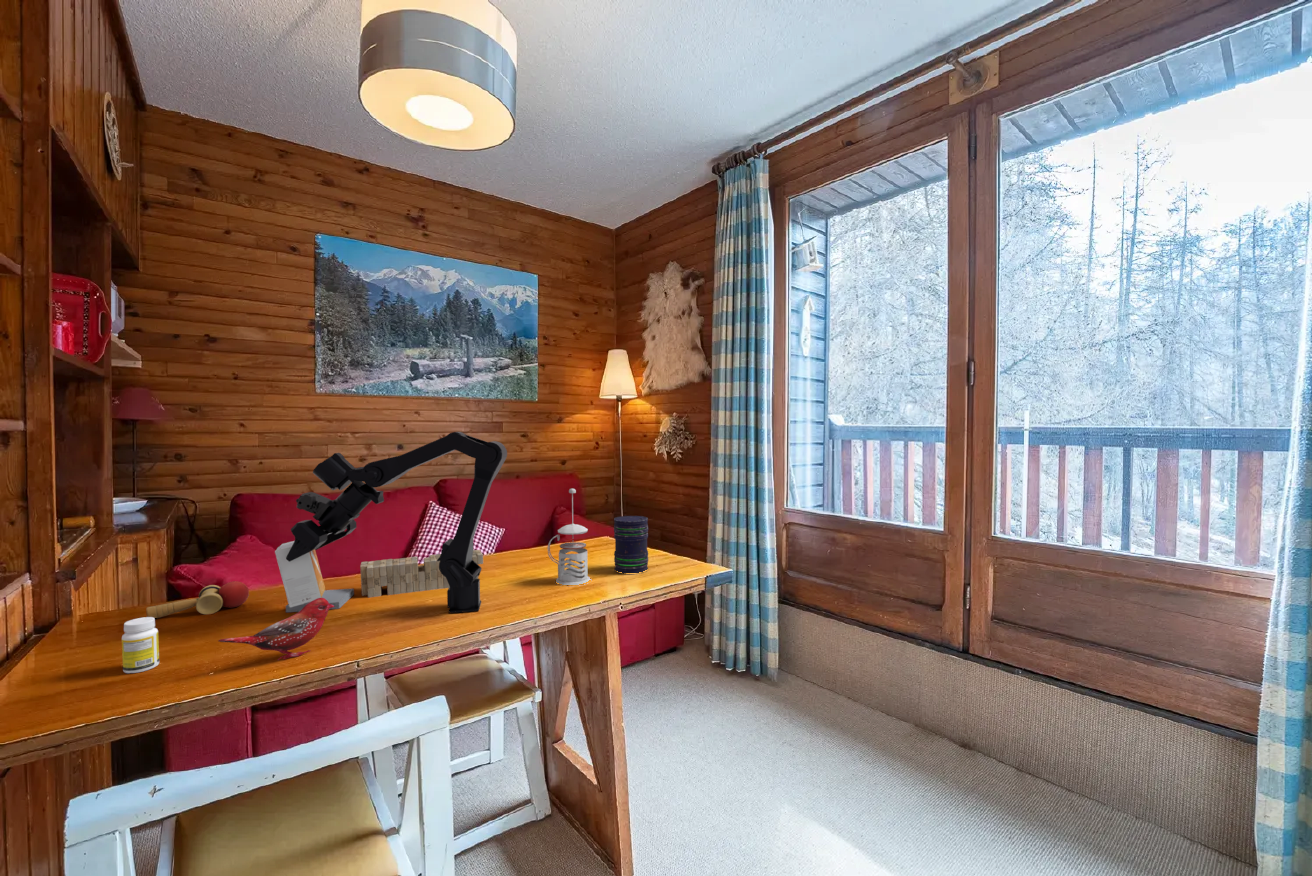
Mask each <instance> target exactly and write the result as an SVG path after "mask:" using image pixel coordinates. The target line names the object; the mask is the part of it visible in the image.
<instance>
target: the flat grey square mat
mask: <svg viewBox="0 0 1312 876" xmlns="http://www.w3.org/2000/svg"><path fill="white" fill-rule="evenodd" d="M354 595H355V588H342V589H341V588H340V589H325V591H324V593H323V595H322V598H325V599H326V600H327V601H328V603H329V604H331V605H333V606H334V607H332V608H330V609H329V610H338V609H339V610H340V608H342V607H343V606H344V605H345V604H346V603H347V602H348V601H349V600H350V599H351V598H352V597H353V596H354ZM311 602H312V601H311ZM308 603H310V602H308ZM308 603H304V604H301V605H298V606H294V607H289V604H287V605H285V613H298V612H299V611H301V610H302V609H303V608H304V607H305V606H306V605H307V604H308Z"/></svg>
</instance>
